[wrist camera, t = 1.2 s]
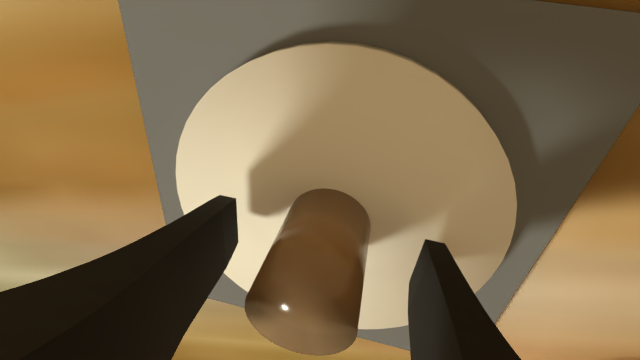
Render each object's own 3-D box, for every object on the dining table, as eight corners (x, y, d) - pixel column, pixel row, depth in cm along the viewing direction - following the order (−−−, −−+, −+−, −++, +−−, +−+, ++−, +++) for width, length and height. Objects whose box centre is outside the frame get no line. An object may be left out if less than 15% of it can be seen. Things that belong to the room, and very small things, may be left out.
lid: (445, 340, 15) (461, 473, 11) (203, 278, 16) (138, 375, 12) (587, 75, 8) (765, 161, 4) (164, 15, 10) (0, 37, 6)
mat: (464, 355, 16) (466, 365, 15) (185, 283, 18) (180, 290, 17) (679, 17, 8) (696, 19, 7) (119, -49, 10) (107, -51, 9)
